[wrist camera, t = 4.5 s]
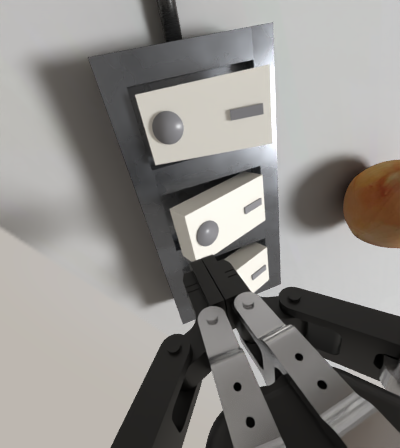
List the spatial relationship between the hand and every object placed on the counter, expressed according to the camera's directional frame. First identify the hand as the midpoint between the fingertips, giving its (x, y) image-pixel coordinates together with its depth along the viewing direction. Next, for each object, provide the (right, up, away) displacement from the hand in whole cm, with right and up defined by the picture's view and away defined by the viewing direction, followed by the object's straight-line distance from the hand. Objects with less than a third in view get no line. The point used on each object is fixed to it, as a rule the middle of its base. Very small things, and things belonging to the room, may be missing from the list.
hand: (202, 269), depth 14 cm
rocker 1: (0, +10, +1) cm, 10 cm away
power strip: (-1, +9, +7) cm, 12 cm away
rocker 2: (+3, -3, +9) cm, 10 cm away
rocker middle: (+2, +4, +5) cm, 6 cm away
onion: (+20, +7, +16) cm, 27 cm away
